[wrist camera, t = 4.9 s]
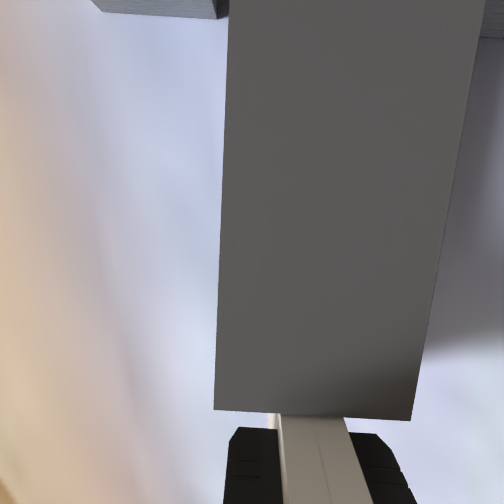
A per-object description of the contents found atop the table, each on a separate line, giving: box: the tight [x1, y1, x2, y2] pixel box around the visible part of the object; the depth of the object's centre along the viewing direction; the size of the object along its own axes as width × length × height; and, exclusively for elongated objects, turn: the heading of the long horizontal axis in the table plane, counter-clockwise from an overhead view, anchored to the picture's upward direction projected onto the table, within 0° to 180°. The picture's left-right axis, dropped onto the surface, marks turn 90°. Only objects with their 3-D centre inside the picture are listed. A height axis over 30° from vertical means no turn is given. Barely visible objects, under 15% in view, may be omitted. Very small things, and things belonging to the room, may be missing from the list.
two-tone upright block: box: [214, 0, 486, 421], centre depth 9 cm, size 16×4×6 cm, turn 177°
